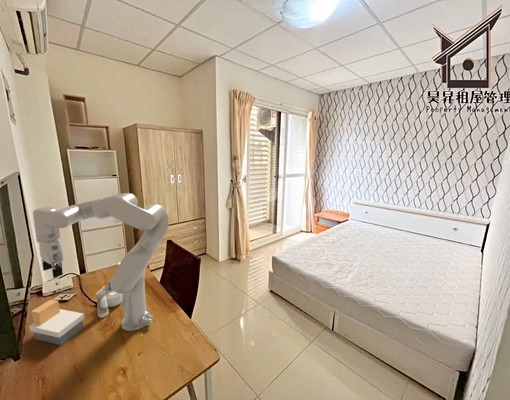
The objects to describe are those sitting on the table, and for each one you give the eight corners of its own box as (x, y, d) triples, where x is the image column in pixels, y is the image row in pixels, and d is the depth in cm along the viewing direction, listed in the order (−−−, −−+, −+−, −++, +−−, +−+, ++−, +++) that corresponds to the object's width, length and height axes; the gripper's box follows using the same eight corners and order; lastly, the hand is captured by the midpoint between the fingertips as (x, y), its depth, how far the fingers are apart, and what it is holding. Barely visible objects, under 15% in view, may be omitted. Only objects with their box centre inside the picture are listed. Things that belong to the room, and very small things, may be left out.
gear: (99, 298, 126) (119, 293, 129) (96, 289, 125) (116, 283, 128) (105, 288, 136) (123, 283, 139) (102, 279, 135) (121, 274, 138)
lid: (84, 318, 106) (82, 302, 104) (59, 337, 95) (56, 320, 93) (57, 312, 108) (54, 297, 107) (29, 331, 98) (26, 313, 96)
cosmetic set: (108, 320, 111) (104, 285, 107) (89, 320, 111) (84, 285, 107) (134, 289, 135) (131, 260, 131) (118, 289, 135) (115, 260, 131)
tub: (83, 327, 106) (81, 316, 105) (61, 345, 96) (59, 333, 95) (58, 322, 109) (56, 311, 107) (34, 339, 99) (32, 327, 98)
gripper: (68, 238, 97) (72, 275, 100) (50, 229, 105) (54, 263, 108) (46, 244, 90) (51, 283, 94) (28, 234, 98) (33, 270, 102)
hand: (52, 272), depth 101 cm, fingers open, 9 cm apart
